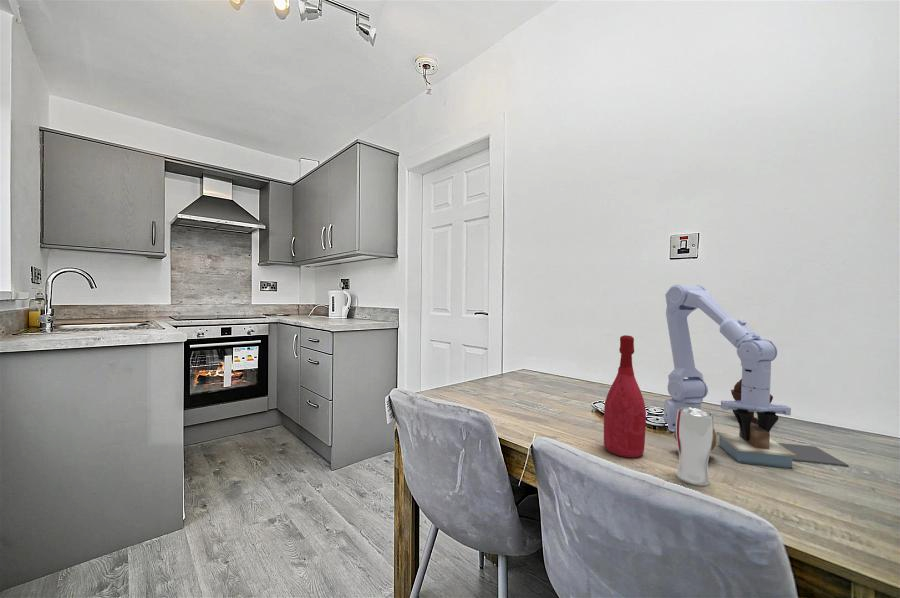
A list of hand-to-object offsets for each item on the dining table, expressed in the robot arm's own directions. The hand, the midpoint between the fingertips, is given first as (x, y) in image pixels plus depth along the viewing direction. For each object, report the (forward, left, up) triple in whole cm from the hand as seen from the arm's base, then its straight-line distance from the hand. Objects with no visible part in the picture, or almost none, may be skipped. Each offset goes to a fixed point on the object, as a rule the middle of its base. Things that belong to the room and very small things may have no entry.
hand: (753, 439), depth 98 cm
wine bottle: (-32, -7, -4) cm, 33 cm away
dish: (0, 0, -4) cm, 4 cm away
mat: (+13, +6, -4) cm, 15 cm away
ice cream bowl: (+14, +33, -4) cm, 36 cm away
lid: (0, 0, -1) cm, 1 cm away
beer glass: (-20, -19, -4) cm, 28 cm away
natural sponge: (-15, -5, -4) cm, 16 cm away
